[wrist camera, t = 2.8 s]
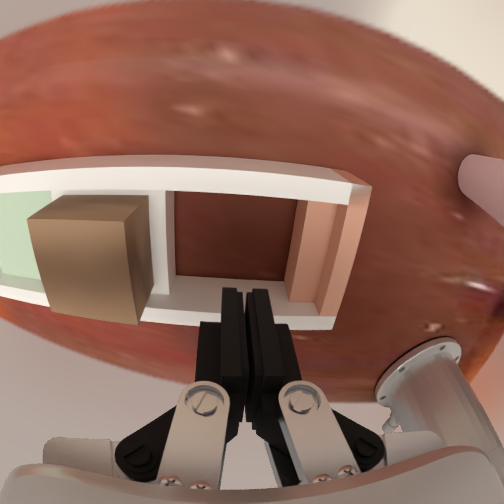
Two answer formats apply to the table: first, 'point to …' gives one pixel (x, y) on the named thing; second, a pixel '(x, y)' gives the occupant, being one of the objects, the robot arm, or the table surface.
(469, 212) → the table surface
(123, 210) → the block
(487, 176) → the smoothie
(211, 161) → the box
